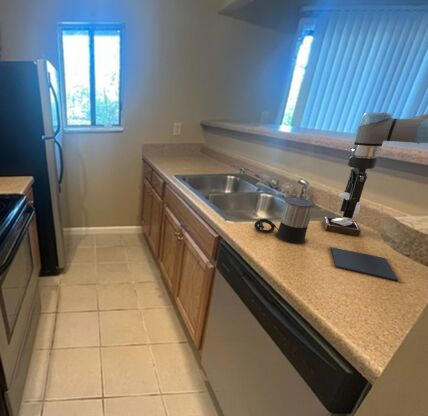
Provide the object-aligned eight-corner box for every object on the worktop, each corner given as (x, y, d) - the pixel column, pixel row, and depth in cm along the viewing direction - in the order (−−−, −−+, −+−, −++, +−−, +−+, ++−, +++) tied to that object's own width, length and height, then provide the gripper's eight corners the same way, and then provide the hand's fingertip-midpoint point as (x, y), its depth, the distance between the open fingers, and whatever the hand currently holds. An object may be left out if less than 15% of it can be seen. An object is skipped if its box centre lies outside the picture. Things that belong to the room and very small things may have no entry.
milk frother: (310, 244, 100) (321, 206, 94) (263, 241, 102) (271, 204, 97) (291, 228, 113) (300, 193, 107) (250, 225, 115) (257, 192, 110)
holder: (354, 226, 113) (356, 221, 112) (358, 236, 105) (360, 230, 104) (323, 221, 118) (325, 216, 117) (325, 230, 110) (327, 224, 109)
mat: (384, 259, 90) (385, 257, 90) (397, 281, 79) (398, 279, 79) (330, 248, 97) (331, 247, 97) (335, 267, 86) (336, 265, 86)
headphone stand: (338, 219, 114) (346, 192, 110) (355, 225, 109) (364, 196, 105) (330, 221, 113) (339, 193, 108) (347, 227, 107) (357, 198, 103)
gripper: (346, 152, 111) (331, 205, 119) (355, 160, 95) (336, 220, 103) (371, 153, 107) (353, 208, 115) (384, 162, 91) (363, 224, 100)
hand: (345, 214), depth 109 cm, fingers closed on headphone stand, 6 cm apart
